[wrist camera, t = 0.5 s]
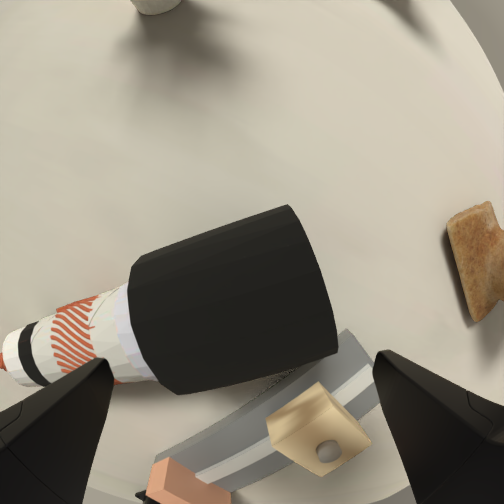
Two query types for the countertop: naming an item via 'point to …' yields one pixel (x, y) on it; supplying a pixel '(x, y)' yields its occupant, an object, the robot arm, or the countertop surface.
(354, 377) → the track
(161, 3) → the house plant
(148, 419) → the countertop surface
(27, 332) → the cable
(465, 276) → the stone cup
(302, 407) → the block
